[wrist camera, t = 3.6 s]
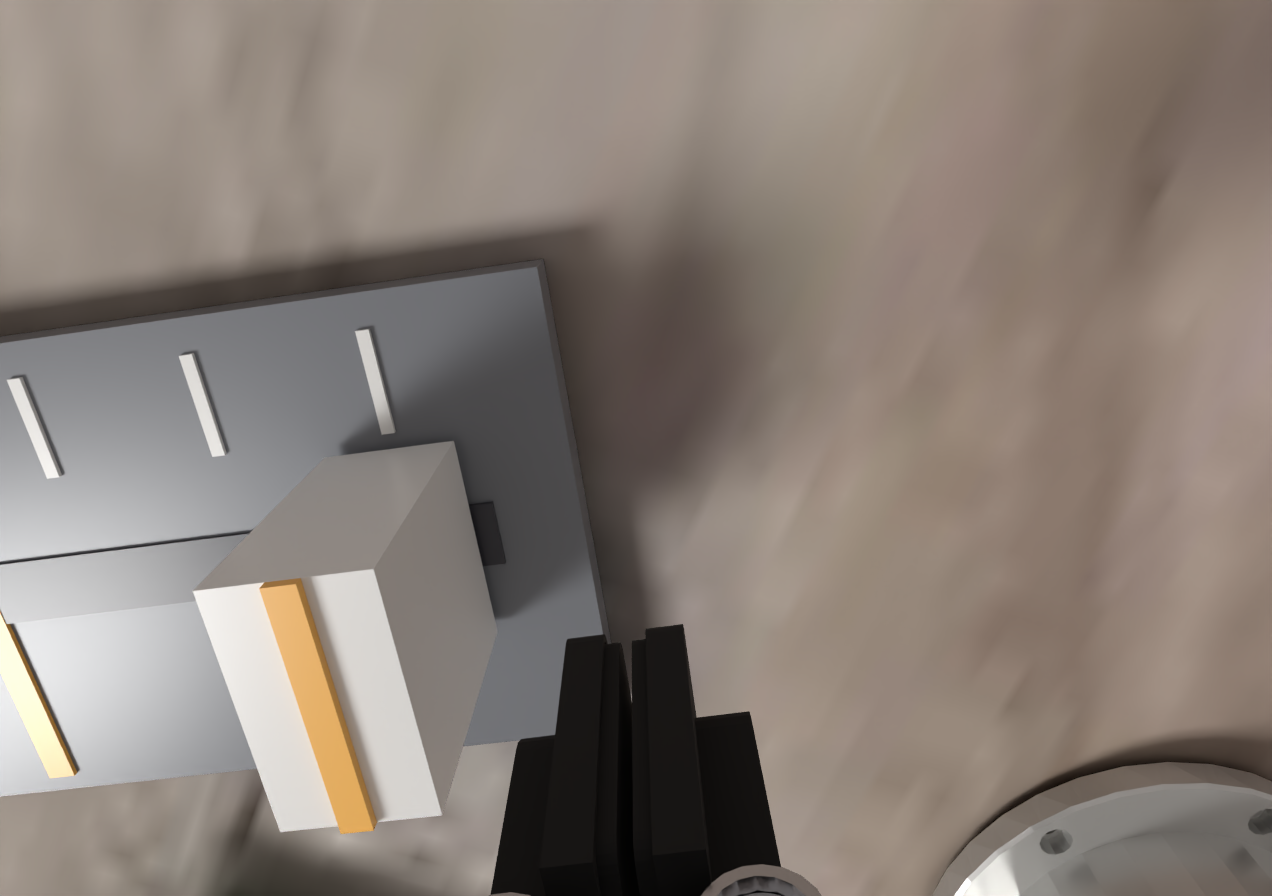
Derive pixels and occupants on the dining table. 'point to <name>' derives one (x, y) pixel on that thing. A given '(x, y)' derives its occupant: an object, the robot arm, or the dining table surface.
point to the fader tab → (356, 638)
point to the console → (264, 502)
